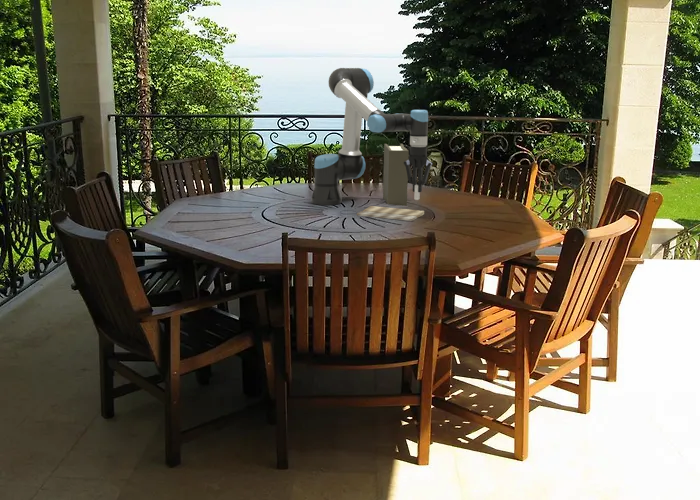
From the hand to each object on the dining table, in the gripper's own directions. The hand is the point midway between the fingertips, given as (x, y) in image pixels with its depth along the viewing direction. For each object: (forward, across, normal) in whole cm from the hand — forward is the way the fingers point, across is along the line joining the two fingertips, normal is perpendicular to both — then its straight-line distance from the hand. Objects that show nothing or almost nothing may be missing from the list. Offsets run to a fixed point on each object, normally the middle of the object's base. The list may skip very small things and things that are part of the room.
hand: (416, 199), depth 295 cm
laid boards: (+8, -10, -11) cm, 17 cm away
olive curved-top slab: (+8, -21, +28) cm, 36 cm away
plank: (+7, -10, -2) cm, 13 cm away
